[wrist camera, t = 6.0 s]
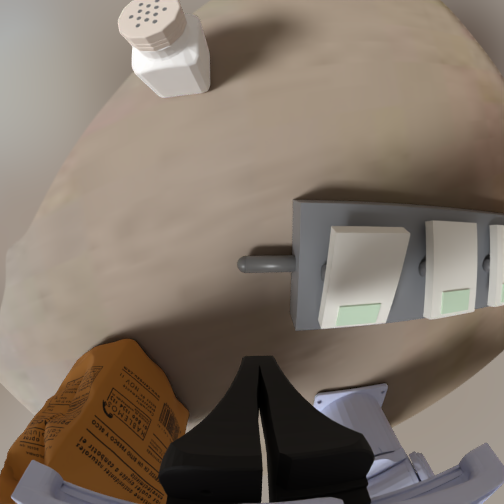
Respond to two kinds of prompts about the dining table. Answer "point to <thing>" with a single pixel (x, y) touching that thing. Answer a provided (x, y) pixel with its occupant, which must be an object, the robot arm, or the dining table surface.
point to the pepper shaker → (166, 47)
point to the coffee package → (104, 427)
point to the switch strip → (374, 215)
